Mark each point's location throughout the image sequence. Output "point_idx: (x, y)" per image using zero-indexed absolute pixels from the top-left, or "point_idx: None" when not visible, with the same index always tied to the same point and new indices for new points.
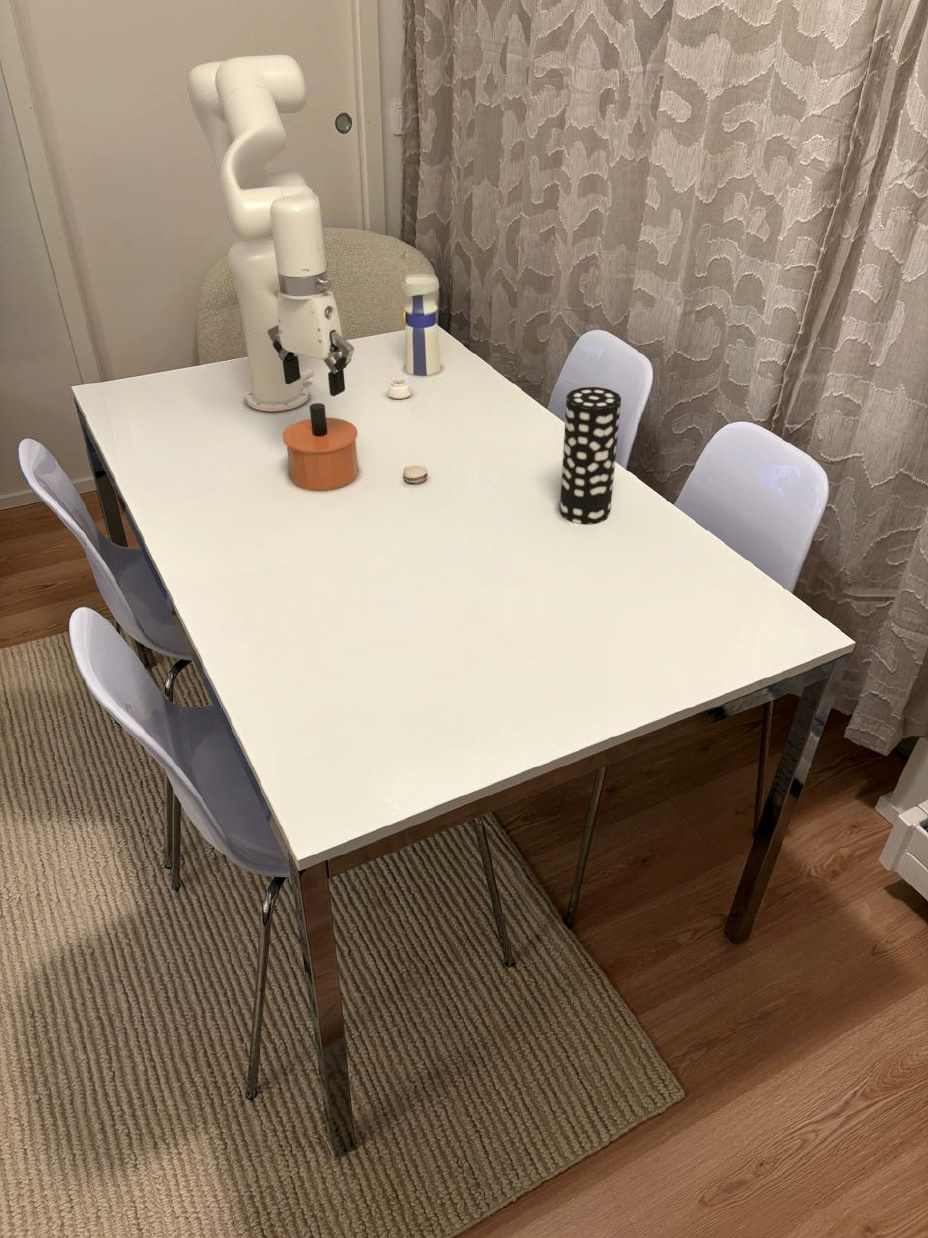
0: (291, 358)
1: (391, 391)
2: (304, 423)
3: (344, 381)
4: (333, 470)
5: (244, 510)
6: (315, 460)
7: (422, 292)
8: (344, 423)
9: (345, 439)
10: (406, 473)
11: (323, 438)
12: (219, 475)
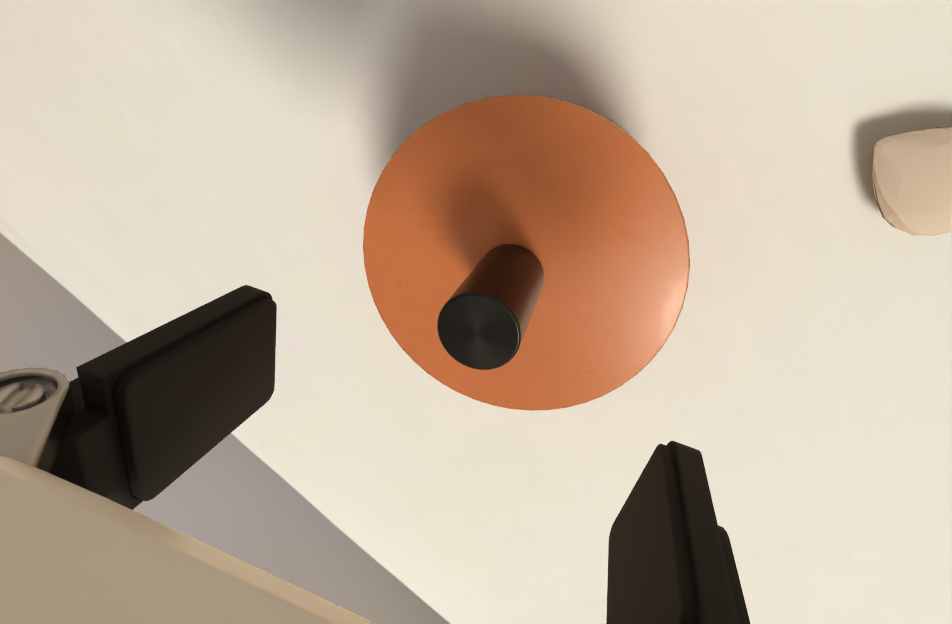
0: (114, 451)
1: None
2: (403, 200)
3: (736, 569)
4: None
5: (430, 429)
6: None
7: None
8: (584, 145)
9: (648, 308)
10: (903, 220)
11: (545, 316)
12: (282, 295)
